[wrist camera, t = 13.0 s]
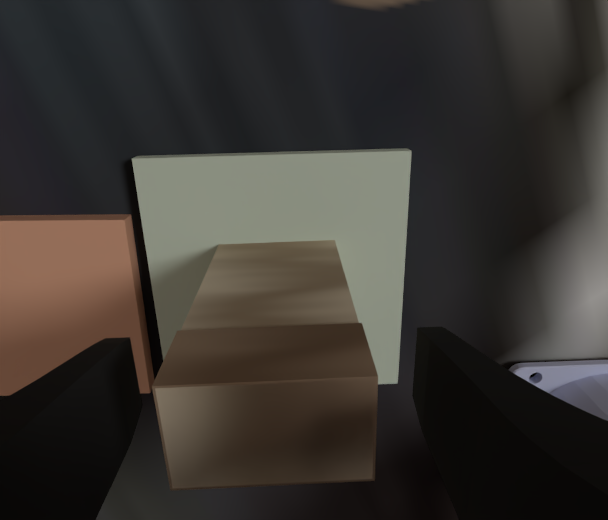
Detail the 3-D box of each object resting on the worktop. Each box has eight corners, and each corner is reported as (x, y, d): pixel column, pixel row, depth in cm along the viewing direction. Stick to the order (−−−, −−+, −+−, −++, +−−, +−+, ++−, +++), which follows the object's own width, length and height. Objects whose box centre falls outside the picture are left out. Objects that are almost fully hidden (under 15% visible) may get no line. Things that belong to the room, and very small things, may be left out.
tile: (158, 374, 19) (135, 210, 16) (150, 393, 18) (124, 219, 15) (11, 377, 19) (-35, 211, 16) (-7, 395, 18) (-59, 221, 15)
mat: (406, 148, 15) (411, 150, 15) (394, 374, 19) (397, 383, 18) (137, 155, 15) (131, 158, 15) (171, 382, 18) (168, 392, 18)
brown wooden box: (336, 238, 16) (378, 376, 8) (336, 303, 17) (374, 480, 9) (217, 243, 16) (151, 386, 8) (223, 308, 17) (170, 490, 9)
